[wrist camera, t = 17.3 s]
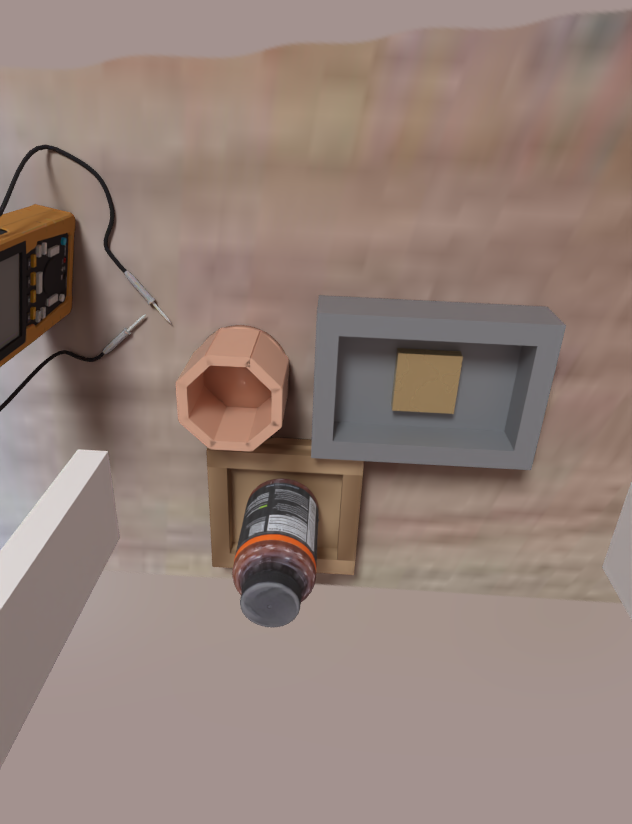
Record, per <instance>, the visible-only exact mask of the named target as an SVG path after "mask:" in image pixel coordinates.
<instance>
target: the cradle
mask: <svg viewBox="0 0 632 824" xmlns="http://www.w3.org/2000/svg"><path fill="white" fill-rule="evenodd" d="M565 327H566V325H565V324H564V323H563V322H562V321H561V320H560V319H559V318H558V317H557V316H556V315H555V314H554V313H553V312H552V311H551V310H550V309H549V308H548V307H542V306H522V305H502V304H482V303H462V302H442V301H422V300H402V299H382V298H362V297H342V296H322V295H319V300H318V308H317V323H316V347H315V372H314V396H313V420H312V444H311V458H319V459H337V460H355V461H373V462H392V463H410V464H428V465H446V466H465V467H483V468H501V469H519V470H531V468H532V464H533V460H534V456H535V452H536V448H537V443H538V439H539V435H540V431H541V427H542V423H543V419H544V414H545V410H546V406H547V402H548V398H549V394H550V390H551V385H552V381H553V377H554V373H555V369H556V365H557V361H558V356H559V352H560V348H561V344H562V340H563V336H564V332H565ZM397 348H405V349H425V350H444V351H461V353H462V356H463V360H462V366H461V372H460V378H459V384H458V390H457V396H456V403H455V409H454V414H448V413H429V412H410V411H392V407H391V401H392V392H393V382H394V373H395V364H396V355H397Z"/></svg>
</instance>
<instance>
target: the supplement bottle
mask: <svg viewBox="0 0 632 824" xmlns="http://www.w3.org/2000/svg"><path fill="white" fill-rule="evenodd" d="M318 517H319V514H318V504H317V500H316V498H315V496H314V495H313V493H312V492H311V491H310V490H309V489H308V488H307V487H306V486H305V485H303V484H301V483H299V482H297V481H295V480H290V479H284V478H278V479H272V480H268V481H266V482H264V483H262V484H260V485H259V486H257V487H256V488H255V489H254V490H253V491H252V493H251V494H250V496H249V499H248V502H247V505H246V509H245V514H244V518H243V523H242V528H241V532H240V536H239V541H238V545H237V550H236V554H235V559H234V565H233V572H232V575H233V581H234V584H235V587H236V589H237V591H238V592H239V593H240V595H241V600H240V605H241V609H242V612H243V613H244V615H245V616H246V617H247V618H248V619H249V620H250V621H252V622H254V623H256V624H258V625H261V626H265V627H280V626H284V625H286V624H288V623H290V622H291V621H293V620H294V619H295V618H296V616H297V615H298V613H299V610H300V604H301V602H302V601H303V600H305V599H306V598H307V596H308V595H309V594H310V593H311V591H312V589H313V587H314V584H315V579H316V567H317V562H316V561H317V539H318V521H319V519H318Z"/></svg>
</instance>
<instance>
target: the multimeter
mask: <svg viewBox="0 0 632 824" xmlns="http://www.w3.org/2000/svg"><path fill="white" fill-rule="evenodd" d="M43 149H49V150H53V151H56V152H58V153H60V154H63V155H65V156H67V157H69V158H70V159H72V160H74V161H76V162H78V163H79V164H81V165H82V166H84V167H85V168H86V169H88V170H89V171H90V172H91V173H92V174H93V175H94V176H95V177H96V178H97V179H98V181H99V182H100V184H101V185H102V187H103V189H104V192H105V194H106V197H107V200H108V203H109V208H110V222H109V225H108V228H107V231H106V234H105V237H104V248H105V250H106V252H107V254H108V255H109V256H110V257H111V259H112V260H113V261H114V262H115V263H116V265H117V266H118V267H119V268H120V269H121V270H122V271H123V272H124V274H125V276H126V277H127V279H128V280H129V281H130V283H131V284H132V285H133V286H134V287H135V288H136V289H137V290H138V292H139V293H140V294H141V295H142V296H143V297H144V298H145V300H146V301H147V302H148V304H151V303H152V304H153V306H154V307H155V308H156V309H157V310H158V311H159V312H160V314H161V315H162V316H163V317H164V318H165V319H166V320H167V321H168V322H169V323H171V322H170V320H169V319H168V317H167V316H166V315H165V314H164V313H163V312H162V311H161V309H160V308H159V307H158V306H157V305H156V304H155V303H154V300H155V298H153V297H152V296H151V295H150V294H149V293H148V292H147V290H146V289H145V288H144V287H143V286H142V285H141V284H140V282H139V281H138V280H137V279H136V278H135V277H134V276H133V275H132V274H131V273H130V272H129V271H127V270H126V269H125V268H124V267H123V266H122V265H121V264H120V263H119V261H118V260H117V259H116V258H115V257H114V255H113V254H112V253H111V251H110V250H109V248H108V237H109V234H110V231H111V229H112V226H113V221H114V208H113V203H112V200H111V197H110V194H109V191H108V189H107V186H106V184H105V183H104V181H103V179H102V178H101V177H100V176H99V174H98V173H97V172H96V171H95V170H94V169H92V168H91V167H90V166H89V165H88V164H86V163H85V162H83V161H81V160H80V159H78V158H77V157H75V156H73V155H71V154H69V153H67V152H65V151H63V150H61V149H59V148H57V147H53V146H49V145H41V146H36V147H35V148H33V149H32V150H30V151H29V152H28V153H27V155H26V156H25V157H24V158H23V160H22V161H21V163H20V165H19V167H18V168H17V170H16V172H15V175H14V177H13V179H12V181H11V184H10V186H9V188H8V191H7V193H6V196H5V198H4V200H3V203H2V205H1V207H0V367H1V366H2V365H4V364H5V363H6V362H7V361H9V360H10V359H11V358H13V357H14V356H15V355H17V354H18V353H19V352H20V351H22V350H23V349H24V348H26V347H27V346H28V345H30V344H31V343H32V342H33V341H35V340H36V339H37V338H38V337H40V336H41V335H42V334H44V333H45V332H46V331H47V330H49V329H50V328H51V327H52V326H54V325H55V324H56V323H57V322H59V321H60V320H61V319H62V318H64V317H65V316H66V315H68V314H69V313H70V311H71V308H72V274H73V249H74V231H75V217H74V215H73V214H72V213H70V212H66V211H61V210H57V209H53V208H49V207H45V206H40V205H36V204H34V205H32V206H30V207H26V208H23V209H20V210H16V211H13V212H9V213H6V214H3V212H4V210H5V208H6V205H7V203H8V201H9V198H10V196H11V193H12V191H13V188H14V186H15V184H16V181H17V179H18V177H19V174H20V172H21V171H22V169H23V167H24V165H25V163H26V162H27V161H28V160H29V158H30V157H31V156H32V155H33V154H34V153H36V152H37V151H39V150H43ZM2 214H3V215H2ZM145 315H146V314H145ZM145 315H144V316H142V317H140V318H139V319H138V320H137V321H136V322H135V323H134V324H133V325H132V326H131V327H130V328H129V329H128V328H124V330H123V331H122V332H121V333H120V334H119V335H118V336H117V337H116V338H115V339H114V340H113V341H111V342H110V343H109V344H108V345H107V346H106V347H105V349H104V350H103V352H102V353H101V354H100V355H98V356H97V357H95V358H85V357H82V356H79V355H76V354H74V353H72V352H69V351H66V350H64V351H59V352H57V353H55V354H53V355H51V356H50V357H49V358H47V359H46V360H45V361H44V362H42V363H41V364H40V365H39V366H38V367H37V368H36V369H35V370H34V371H33V372H32V373H31V374H30V375H29V376H28V377H27V378H26V379H25V380H24V381H23V383H22V384H21V385H20V386H19V387H18V388H17V389H16V390H15V391H14V392H13V393H12V394H11V395H10V396H9V397H8V399H7V400H6V401H5V402H4V403H3V404H2V405H1V406H0V411H1V410H2V409H3V408H4V407H5V406H6V405H7V404H8V403H9V402H10V401H11V400H12V399H13V398H14V397H15V396H16V395H17V394H18V393H19V392H20V390H21V389H22V388H23V387H24V386H25V385H26V384H27V383H28V382H29V381H30V380H31V379H32V377H33V376H34V375H35V374H36V373H37V372H38V371H39V370H40V369H41V368H42V367H43V366H44V365H46V364H47V363H48V362H49V361H50V360H52V359H53V358H54V357H56V356H58V355H60V354H68V355H70V356H72V357H75V358H77V359H80V360H83V361H88V362H93V361H96V360H98V359H100V358H101V357H102V356H104V355H105V354H107V353H109V352H110V351H112V350H113V349H114V348H115V347H116V346H117V345H118V344H119V343H120V342H122V341H123V340H124V339H125V338H126V337H127V336H128V335H130V334H131V330H132V329H133V328H134V327H135V326H136V325H137V324H138V323H139V322H140V321H141V320H142V319H143V318H144V317H145Z"/></svg>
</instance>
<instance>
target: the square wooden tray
mask: <svg viewBox="0 0 632 824" xmlns="http://www.w3.org/2000/svg"><path fill="white" fill-rule="evenodd" d="M311 444H312V440H310V439H291V438H273V437H269V438H268V439H267V440H265V441H264V442H263V443H262V444H260V445H259V446H258V447H257V448H256V449H254V450H253V451H252V450H251V451H232V450H214V449H211V448H210V449H209V448H207V469H208V489H209V508H210V527H211V547H212V566H213V567H226V568H233V565H234V559H235V554H236V550H237V545H238V541H239V536H240V532H241V528H242V523H243V518H244V514H245V509H246V505H247V502H248V499H249V496H250V494H251V493H252V491H253V490H254V489H255V488H256V487H257V486H259V485H260V484H262V483H264V482H266V481H268V480H272V479H278V478H284V479H290V480H295V481H297V482H299V483H301V484H303V485H305V486H306V487H307V488H308V489H309V490H310V491H311V492H312V493H313V495H314V496H315V498H316V500H317V504H318V514H319V517H318V519H319V521H318V539H317V561H316V562H317V567H316V573H329V574H347V575H354V568H355V557H356V546H357V534H358V523H359V512H360V501H361V490H362V479H363V467H364V461H355V460H337V459H319V458H311Z"/></svg>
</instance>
